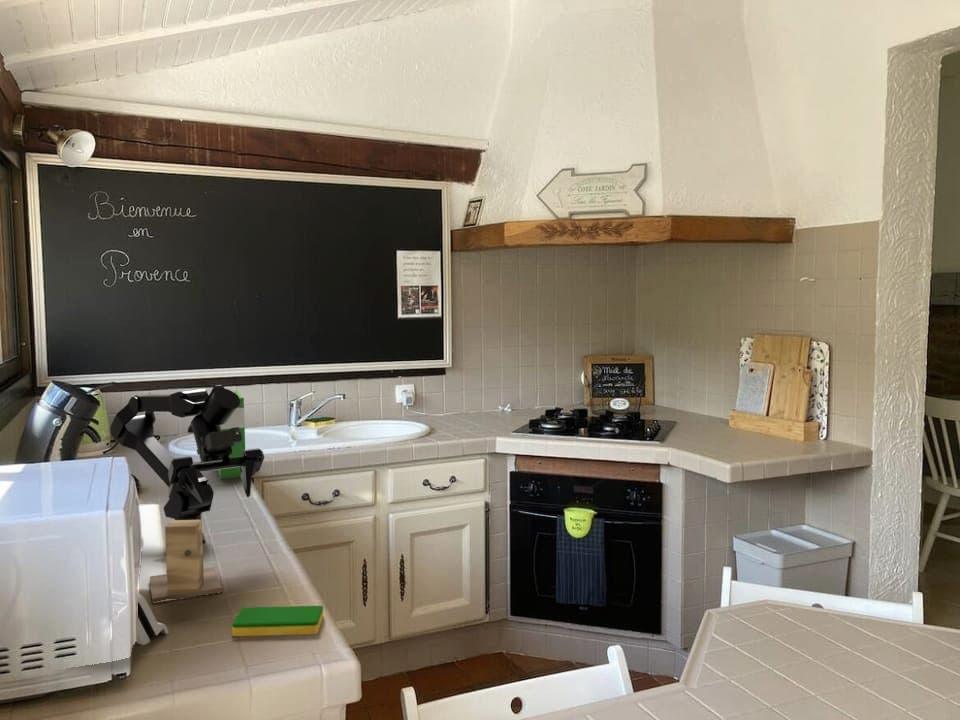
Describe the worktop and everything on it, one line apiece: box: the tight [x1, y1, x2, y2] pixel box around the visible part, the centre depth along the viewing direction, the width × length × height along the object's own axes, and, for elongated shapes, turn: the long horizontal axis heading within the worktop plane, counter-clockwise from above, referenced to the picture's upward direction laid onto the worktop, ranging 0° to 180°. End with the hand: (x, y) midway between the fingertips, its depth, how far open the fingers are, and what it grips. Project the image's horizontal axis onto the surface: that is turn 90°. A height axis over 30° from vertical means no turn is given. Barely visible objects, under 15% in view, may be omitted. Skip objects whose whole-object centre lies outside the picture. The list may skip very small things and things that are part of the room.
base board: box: [149, 567, 223, 603], centre depth 150 cm, size 12×12×1 cm
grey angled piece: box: [136, 592, 170, 646], centre depth 130 cm, size 17×5×10 cm, turn 61°
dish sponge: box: [231, 605, 324, 637], centre depth 133 cm, size 7×14×2 cm, turn 93°
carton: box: [216, 390, 246, 480], centre depth 243 cm, size 18×7×24 cm, turn 23°
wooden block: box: [164, 519, 205, 590], centre depth 147 cm, size 4×6×12 cm
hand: (226, 499), depth 161 cm, fingers open, 9 cm apart
